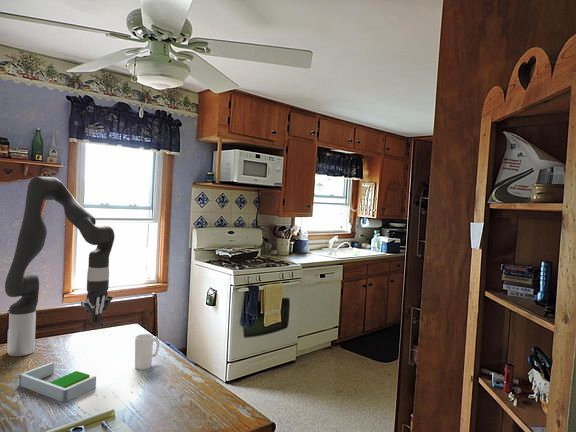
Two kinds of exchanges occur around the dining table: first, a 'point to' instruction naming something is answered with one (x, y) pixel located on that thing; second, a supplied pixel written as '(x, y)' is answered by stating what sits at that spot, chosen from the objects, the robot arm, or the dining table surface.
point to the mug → (145, 350)
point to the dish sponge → (70, 379)
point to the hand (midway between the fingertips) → (96, 323)
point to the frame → (56, 392)
